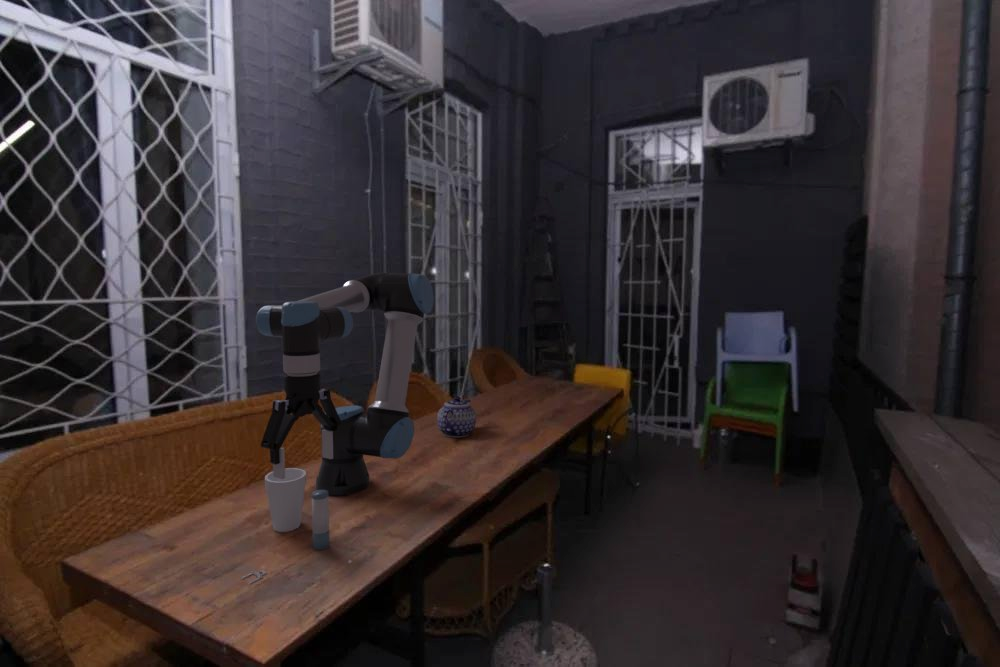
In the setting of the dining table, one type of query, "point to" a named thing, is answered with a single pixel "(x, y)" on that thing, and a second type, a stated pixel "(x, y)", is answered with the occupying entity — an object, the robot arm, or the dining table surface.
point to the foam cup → (286, 498)
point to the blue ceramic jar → (456, 418)
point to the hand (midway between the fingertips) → (304, 467)
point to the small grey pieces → (262, 574)
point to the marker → (320, 519)
